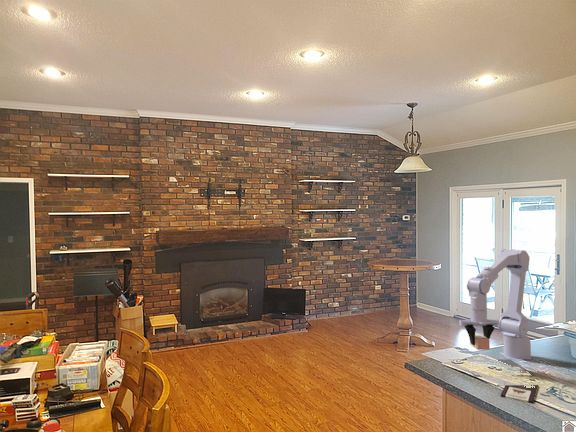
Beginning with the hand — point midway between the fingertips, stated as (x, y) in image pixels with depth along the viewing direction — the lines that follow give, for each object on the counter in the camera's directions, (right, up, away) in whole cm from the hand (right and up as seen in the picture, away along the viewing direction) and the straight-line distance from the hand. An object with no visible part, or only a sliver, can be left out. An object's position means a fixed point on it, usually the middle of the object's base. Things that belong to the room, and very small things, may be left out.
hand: (479, 344), depth 162 cm
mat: (+4, -9, -3) cm, 10 cm away
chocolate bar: (+3, -9, -23) cm, 25 cm away
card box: (0, -1, 0) cm, 1 cm away
